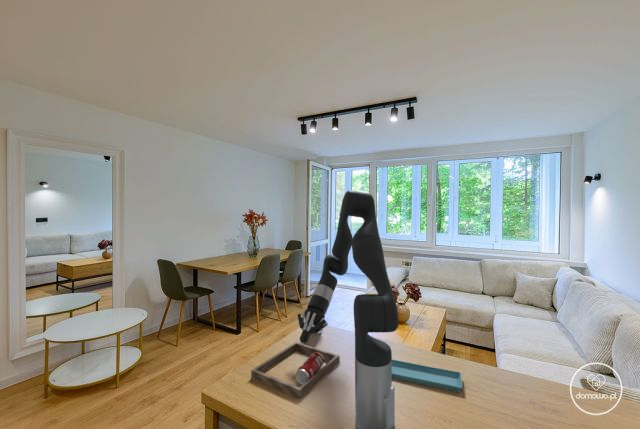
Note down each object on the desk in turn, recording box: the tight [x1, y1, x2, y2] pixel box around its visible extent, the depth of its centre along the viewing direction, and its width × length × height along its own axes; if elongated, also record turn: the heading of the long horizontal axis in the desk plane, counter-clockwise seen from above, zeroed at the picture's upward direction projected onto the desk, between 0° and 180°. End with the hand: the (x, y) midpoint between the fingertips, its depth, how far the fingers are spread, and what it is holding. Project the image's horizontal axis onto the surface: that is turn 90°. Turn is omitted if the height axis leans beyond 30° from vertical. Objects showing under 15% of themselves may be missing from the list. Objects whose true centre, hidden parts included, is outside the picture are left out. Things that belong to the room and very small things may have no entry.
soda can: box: [295, 352, 325, 385], centre depth 95 cm, size 5×5×12 cm
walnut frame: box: [250, 341, 341, 400], centre depth 98 cm, size 20×24×2 cm
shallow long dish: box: [392, 359, 463, 393], centre depth 94 cm, size 26×9×2 cm, turn 66°
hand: (302, 342), depth 101 cm, fingers closed
